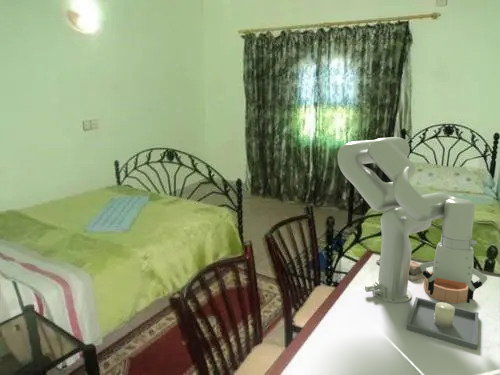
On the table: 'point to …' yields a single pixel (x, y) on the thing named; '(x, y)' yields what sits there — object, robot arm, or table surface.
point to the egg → (444, 315)
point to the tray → (459, 333)
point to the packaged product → (412, 270)
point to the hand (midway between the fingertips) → (449, 296)
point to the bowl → (448, 290)
